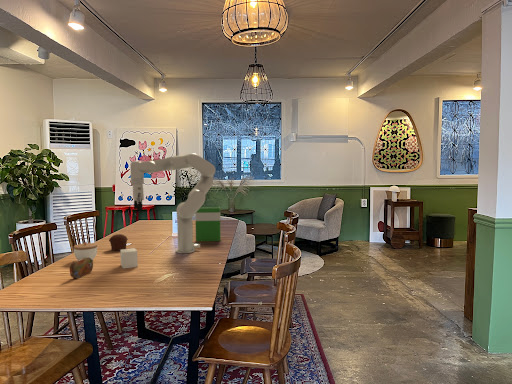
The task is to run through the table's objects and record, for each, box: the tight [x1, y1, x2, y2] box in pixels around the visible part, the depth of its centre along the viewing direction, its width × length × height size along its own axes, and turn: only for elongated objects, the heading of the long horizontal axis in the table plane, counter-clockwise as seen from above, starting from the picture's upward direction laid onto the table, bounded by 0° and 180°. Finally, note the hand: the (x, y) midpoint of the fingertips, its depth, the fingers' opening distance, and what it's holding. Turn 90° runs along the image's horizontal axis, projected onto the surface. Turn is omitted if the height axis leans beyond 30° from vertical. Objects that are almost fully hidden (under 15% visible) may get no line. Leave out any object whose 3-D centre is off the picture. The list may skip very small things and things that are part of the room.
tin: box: [69, 258, 94, 279], centre depth 187 cm, size 15×3×8 cm, turn 168°
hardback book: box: [194, 206, 222, 242], centre depth 275 cm, size 18×7×24 cm, turn 93°
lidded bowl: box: [73, 241, 98, 261], centre depth 217 cm, size 13×13×11 cm
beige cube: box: [119, 247, 139, 269], centre depth 205 cm, size 8×8×9 cm
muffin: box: [108, 233, 128, 252], centre depth 246 cm, size 12×11×10 cm
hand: (138, 209), depth 228 cm, fingers open, 9 cm apart
